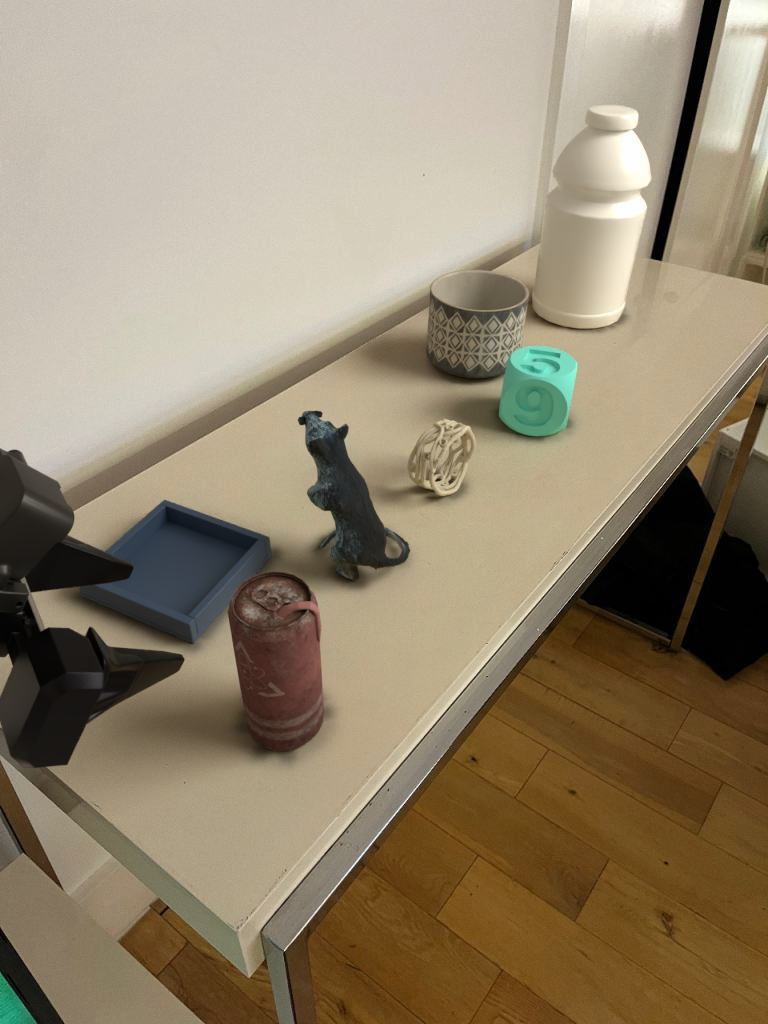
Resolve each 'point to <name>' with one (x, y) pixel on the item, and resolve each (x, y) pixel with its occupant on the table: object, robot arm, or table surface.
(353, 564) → the sculpture
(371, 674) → the table surface
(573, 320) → the bottle
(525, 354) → the decorative dice
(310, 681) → the can
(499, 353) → the planter
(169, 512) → the blue tray
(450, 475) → the bracelet
